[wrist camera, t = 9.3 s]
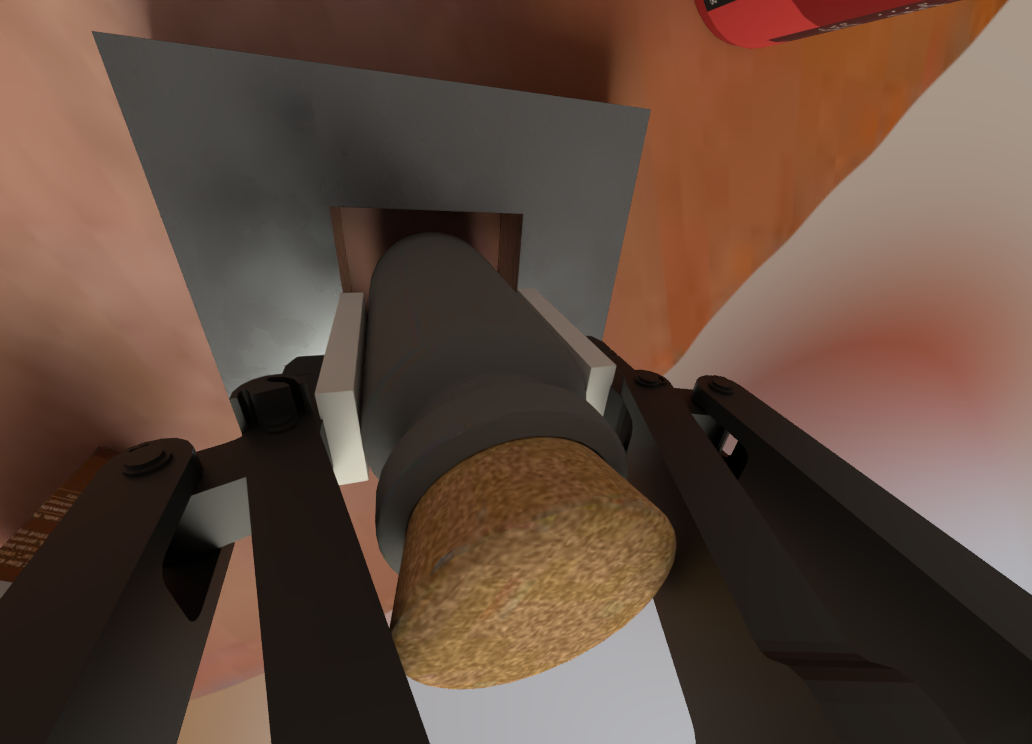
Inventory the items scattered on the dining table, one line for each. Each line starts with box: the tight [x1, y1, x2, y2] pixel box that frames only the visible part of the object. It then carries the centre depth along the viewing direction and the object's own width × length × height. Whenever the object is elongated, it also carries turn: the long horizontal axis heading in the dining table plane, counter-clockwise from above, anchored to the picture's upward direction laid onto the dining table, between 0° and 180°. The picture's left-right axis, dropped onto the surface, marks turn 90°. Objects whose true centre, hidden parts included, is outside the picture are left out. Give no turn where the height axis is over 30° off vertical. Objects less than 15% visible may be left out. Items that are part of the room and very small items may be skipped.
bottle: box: [361, 232, 677, 689], centre depth 12 cm, size 6×6×15 cm
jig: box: [92, 31, 651, 399], centre depth 18 cm, size 16×18×4 cm
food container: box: [0, 447, 120, 598], centre depth 18 cm, size 12×6×10 cm, turn 139°
